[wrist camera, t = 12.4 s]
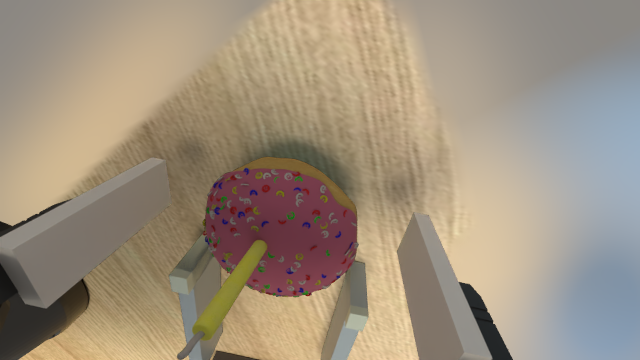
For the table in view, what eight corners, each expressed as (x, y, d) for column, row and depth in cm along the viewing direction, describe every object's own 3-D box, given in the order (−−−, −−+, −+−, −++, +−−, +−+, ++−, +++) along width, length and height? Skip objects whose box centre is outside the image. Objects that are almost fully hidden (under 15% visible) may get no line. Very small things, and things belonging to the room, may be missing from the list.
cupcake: (217, 155, 17) (3, 324, 7) (334, 114, 15) (295, 270, 4) (270, 247, 21) (186, 455, 10) (371, 225, 18) (400, 460, 8)
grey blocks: (211, 329, 27) (187, 378, 23) (204, 230, 20) (168, 275, 16) (332, 355, 27) (329, 409, 23) (364, 263, 20) (368, 317, 16)
